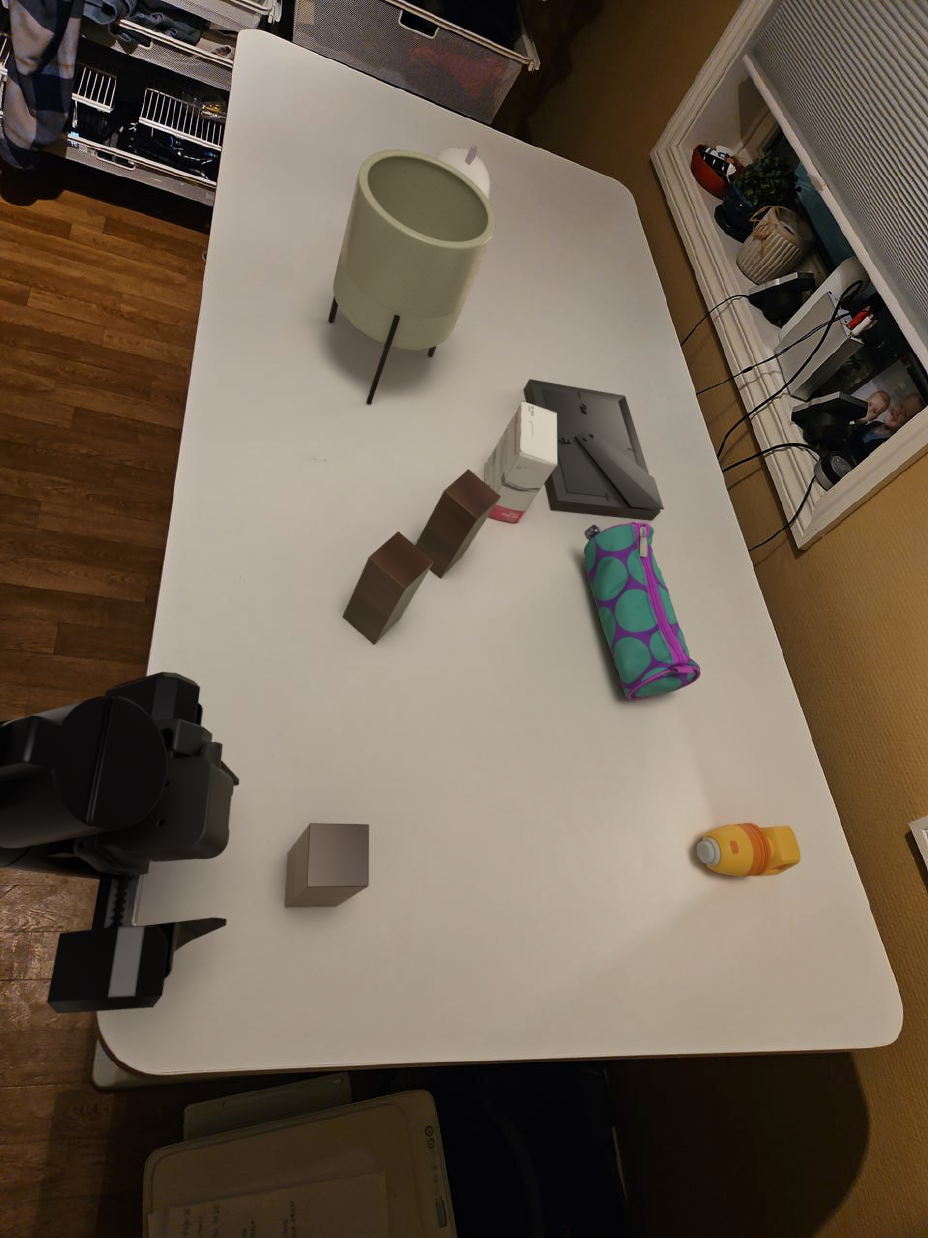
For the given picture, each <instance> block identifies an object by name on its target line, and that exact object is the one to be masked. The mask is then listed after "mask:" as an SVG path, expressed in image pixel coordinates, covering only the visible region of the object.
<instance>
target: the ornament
mask: <svg viewBox="0 0 928 1238" xmlns="http://www.w3.org/2000/svg"><path fill="white" fill-rule="evenodd" d="M478 148H479V147H478V146H476V145H474V144H472V145H471V146H470V147H469V150H468V149H466V148H463V147H458V146H457V147H448V148H445V149H442V150H441V151H439V152H437V153H436V154H435V155H434V156H432V157H433V158H436V159H438V160H440V161H442V162H444V163H446V164H448V165H450V166H452V167H454V168H455V169H457V170H458V171H460V172H461V173H463V174H464V175H465V176H467V177H468V178H469V179H470V180H472V181H473V182H474V183H475V184H476V185H477V186H478V187H479V188H480V189H481V191H482V192H483V193H484V194H485V195H486V197H487V198H488V199H489V197H490V194H491V193H490V192H491V180H490V179H491V178H490V175H489V172H488V169H487V167H486V165H485V163H484V162H483V160H482V159H481V158H480V157H479V156H477V152H478Z"/></svg>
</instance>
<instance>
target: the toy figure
mask: <svg viewBox="0 0 928 1238" xmlns="http://www.w3.org/2000/svg"><path fill="white" fill-rule="evenodd" d="M696 855H697V857H698V859H699V861H700V862H701V863H703V864H705V865H706V867H707V869H709V870H711V871H713V872H715V873H718V874H722V875H726V876H727V875H728V876H733V877H750V876H752V877H765V876H766V877H767V876H777V875H780V874H782V873H784V872H785V871H787V870H789V869H792V868H793V867H795V866H797V865H798V864H799V863H800V862H801V851H800V847H799V843H798V840H797V837H796V835H795V832H794V831H793V829H792V827H791V826H789V825H775V826H767V827H766V826H765V827H760V826H759V825H757V824H756V823H753V822H744V823H732V824H725V825H723V826H719V827H717V828H714V829H712V830H710V831H708V832H707V833H705V834H704V836H703V838H702V839H701V841H700V842H698V844H697V846H696Z"/></svg>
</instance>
